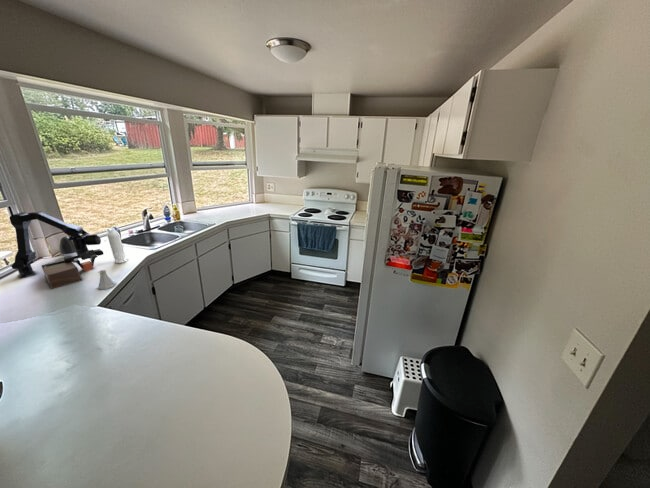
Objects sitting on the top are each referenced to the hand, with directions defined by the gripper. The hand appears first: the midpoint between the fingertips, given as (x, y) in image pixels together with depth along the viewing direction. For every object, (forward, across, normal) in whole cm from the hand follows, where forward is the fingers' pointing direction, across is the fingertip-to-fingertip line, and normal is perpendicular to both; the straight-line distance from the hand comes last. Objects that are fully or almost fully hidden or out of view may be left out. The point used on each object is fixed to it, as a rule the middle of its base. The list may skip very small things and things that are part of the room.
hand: (87, 267), depth 166 cm
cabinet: (+1, -13, -9) cm, 16 cm away
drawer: (0, -13, +2) cm, 13 cm away
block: (+1, 0, 0) cm, 1 cm away
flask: (+1, 0, -37) cm, 37 cm away
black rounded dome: (+1, -1, +36) cm, 36 cm away
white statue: (+1, +17, -3) cm, 17 cm away
